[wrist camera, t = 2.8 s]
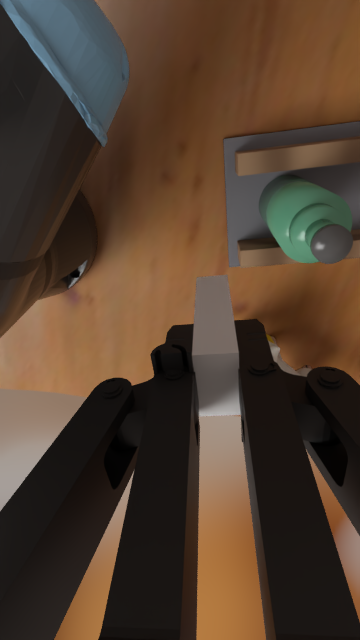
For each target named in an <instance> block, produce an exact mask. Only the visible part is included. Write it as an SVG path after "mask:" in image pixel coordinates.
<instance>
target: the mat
mask: <svg viewBox="0 0 360 640" xmlns="http://www.w3.org/2000/svg"><path fill="white" fill-rule="evenodd" d="M356 136H360V121H358V122H350V123H343V124H335V125H327V126H320V127H312V128H304V129H296V130H289V131H281V132H273V133H266V134H258V135H250V136H243V137H235V138H227V139H223V143H224V165H225V187H226V209H227V231H228V253H229V267H237V266H240V263H239V259H238V247H237V241H240V240H250V239H261V238H272V237H274V236H273V235H272V233H271V231H270V230H269V228H268V227H267V225H266V224H265V222H264V221H263V219H262V217H261V215H260V213H259V199H260V195H261V193H262V191H263V189H264V188H265V187H266V185H267V184H268V183H269V182H271V181H272V180H273V179H275V178H277V177H279V176H282V175H288V174H291V175H297V176H299V177H301V178H303V179H305V180H308V181H310V182H312V183H314V184H316V185H318V186H320V187H322V188H324V189H326V190H328V191H330V192H332V193H334V194H336V195H338V196H340V197H341V198H342V199H343V200H344V201H345V202H346V203H347V204H348V206H349V208H350V210H351V214H352V228H351V230H356V229H360V162H355V163H347V164H338V165H330V166H321V167H313V168H304V169H295V170H287V171H278V172H270V173H261V174H253V175H244V176H238V175H237V174H236V172H235V152H237V151H245V150H253V149H261V148H269V147H277V146H284V145H292V144H300V143H308V142H316V141H324V140H332V139H340V138H348V137H356Z"/></svg>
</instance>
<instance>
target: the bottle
mask: <svg viewBox="0 0 360 640" xmlns="http://www.w3.org/2000/svg"><path fill="white" fill-rule="evenodd" d="M259 213H260V215H261V217H262V219H263V221H264V222H265V224H266V225H267V227H268V228H269V230H270V231H271V233H272V235H273V236H274V238H275V239H276V241H277V242H278V244H279V245H280V247H281V248H282V250H283V251H284V253H285V254H286V255H287V256H289V257H290V258H291V259H293V260H295V261H298V262H302V263H315V262H319V261H320V262H322V263H325V264H332V263H336V262H339V261H341V260H342V259H344V258H345V257H346V256H347V255H348V254H349V252H350V250H351V248H352V245H353V237H352V234H351V233H350V232H351V228H352V214H351V210H350V208H349V206H348V204H347V203H346V202H345V201H344V200H343V199H342V198H341V197H340V196H338V195H336V194H334V193H332V192H330V191H328V190H326V189H324V188H322V187H320V186H318V185H316V184H314V183H312V182H310V181H308V180H305V179H303V178H301V177H299V176H297V175H291V174H288V175H282V176H279V177H277V178H275V179H273V180H272V181H271V182H269V183H268V184H267V185H266V187H265V188H264V189H263V191H262V193H261V195H260V199H259Z"/></svg>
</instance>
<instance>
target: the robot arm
mask: <svg viewBox="0 0 360 640" xmlns="http://www.w3.org/2000/svg"><path fill="white" fill-rule="evenodd" d="M128 82H129V61H128V57H127V53H126V50H125V47H124V45H123V43H122V41H121V39H120V37H119V35H118V34H117V32H116V30H115V29H114V27H113V25H112V24H111V23H110V21H109V20H108V18H107V17H106V15H105V14H104V13H103V11H102V10H101V9H100V7H99V6H98V5H97V3H96V2H95V1H94V0H0V338H1V337H2V336H3V335H4V334H5V333H6V332H7V331H8V330H9V329H10V328H11V327H12V326H13V325H14V324H15V323H16V322H17V320H18V319H19V318H20V317H21V316H22V315H23V314H24V313H25V312H26V311H27V310H28V309H29V308H30V307H31V306H32V305H33V304H34V303H35V302H36V301H37V300H40V299H43V298H46V297H50V296H53V295H57V294H60V293H62V292H64V291H66V290H68V289H69V288H71V287H72V286H74V285H75V284H76V283H77V282H78V281H79V280H80V279H81V278H82V277H83V276H84V274H85V273H86V272H87V271H88V269H89V268H90V266H91V264H92V262H93V260H94V257H95V254H96V249H97V228H96V223H95V219H94V216H93V213H92V211H91V208H90V206H89V204H88V202H87V200H86V199H85V197H84V196H83V194H82V193H81V191H80V190H79V189H80V187H81V185H82V183H83V181H84V179H85V177H86V175H87V173H88V171H89V169H90V167H91V165H92V163H93V161H94V159H95V158H96V156H97V154H98V152H99V150H100V148H101V146H103V147H105V145H106V143H107V139H108V138H107V132H108V130H109V127H110V125H111V123H112V121H113V118H114V116H115V114H116V112H117V109H118V107H119V105H120V103H121V100H122V98H123V96H124V94H125V92H126V89H127V86H128ZM151 360H152V365H153V370H154V377H153V378H152V379H150V380H148V381H146V382H143V383H140V384H137V385H133V386H132V385H131V383H130V382H129V381H128V380H127V379H124V378H112V379H108V380H105V381H103V382H102V383H100V384H99V385H98V386H96V387H95V388H94V390H93V391H92V392H91V394H90V395H89V396H88V397H87V399H86V400H85V401H84V403H83V404H82V405H81V407H80V408H79V409H78V411H77V412H76V413H75V415H74V416H73V417H72V418H71V420H70V421H69V422H68V424H67V425H66V426H65V428H64V429H63V430H62V431H61V433H60V434H59V435H58V437H57V438H56V439H55V441H54V442H53V443H52V445H51V446H50V447H49V448H48V450H47V451H46V452H45V454H44V455H43V456H42V458H41V459H40V460H39V462H38V463H37V464H36V466H35V467H34V468H33V470H32V471H31V472H30V473H29V475H28V476H27V477H26V479H25V480H24V481H23V483H22V484H21V485H20V487H19V488H18V489H17V490H16V492H15V493H14V495H13V496H12V497H11V498H10V499H9V501H8V502H7V503H6V505H5V506H4V507H3V509H2V510H1V511H0V640H54V638H55V636H56V634H57V632H58V630H59V628H60V625H61V623H62V621H63V619H64V617H65V615H66V613H67V610H68V608H69V606H70V604H71V602H72V600H73V598H74V596H75V594H76V592H77V589H78V587H79V585H80V583H81V581H82V579H83V577H84V575H85V573H86V570H87V568H88V566H89V564H90V562H91V560H92V558H93V556H94V554H95V552H96V549H97V547H98V545H99V543H100V541H101V539H102V537H103V534H104V533H105V530H106V528H107V526H108V524H109V522H110V520H111V518H112V516H113V514H114V511H115V509H116V507H117V505H118V503H119V501H120V499H121V497H122V495H123V492H124V490H125V488H126V486H127V484H128V482H129V480H130V478H131V476H132V473H133V471H134V475H133V480H132V485H131V489H130V494H129V499H128V504H127V509H126V514H125V519H124V523H123V528H122V533H121V538H120V543H119V548H118V552H117V557H116V562H115V567H114V572H113V576H112V581H111V586H110V591H109V595H108V600H107V605H106V611H105V615H104V620H103V624H102V629H101V633H100V636H99V639H98V640H196V628H197V567H198V566H197V565H198V562H197V561H198V508H199V446H200V443H199V442H200V425H199V416H220V415H221V416H222V415H241V429H242V442H243V444H244V453H245V462H246V471H247V479H248V488H249V495H250V505H251V513H252V522H253V530H254V539H255V548H256V556H257V564H258V573H259V582H260V590H261V599H262V607H263V616H264V625H265V633H266V640H360V622H359V619H358V616H357V612H356V609H355V606H354V603H353V599H352V596H351V593H350V590H349V587H348V583H347V580H346V577H345V574H344V571H343V567H342V564H341V561H340V558H339V555H338V551H337V548H336V545H335V542H334V538H333V535H332V532H331V529H330V526H329V522H328V519H327V516H326V513H325V509H324V506H323V503H322V500H321V497H320V493H319V490H318V487H317V484H316V480H315V477H314V474H313V471H312V468H311V464H310V461H309V458H308V455H307V452H306V449H307V451H308V453H309V455H310V456H311V458H312V459H313V461H314V463H315V464H316V466H317V467H318V469H319V471H320V472H321V474H322V476H323V477H324V479H325V480H326V482H327V483H328V485H329V487H330V489H331V490H332V492H333V493H334V495H335V497H336V498H337V500H338V502H339V503H340V505H341V506H342V508H343V509H344V511H345V513H346V514H347V516H348V518H349V519H350V521H351V523H352V524H353V526H354V527H355V529H356V531H357V532H358V534H359V535H360V385H359V384H358V383H357V382H356V381H355V380H354V379H353V378H352V377H351V376H350V375H348V374H347V373H346V372H344V371H342V370H340V369H337V368H333V367H317V368H315V369H312V370H311V371H310V372H309V373H308V374H307V377H305V376H299V375H294V374H290V373H287V372H285V371H283V370H282V369H281V368H280V366H279V365H278V363H276V362H275V361H274V359H273V356H272V352H271V349H270V345H269V342H268V340H267V335H266V332H265V329H264V325H263V324H262V323H260V322H259V321H258V320H257V319H250V320H235V321H234V317H233V311H232V304H231V297H230V291H229V284H228V277H227V275H220V276H208V277H197V282H196V298H195V314H194V324H187V325H173V326H172V327H171V329H170V330H169V331H168V332H167V337H166V342H165V344H162V345H160V346H158V347H156V348H155V349H154V350H153V351H152V353H151ZM134 469H135V470H134Z"/></svg>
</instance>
